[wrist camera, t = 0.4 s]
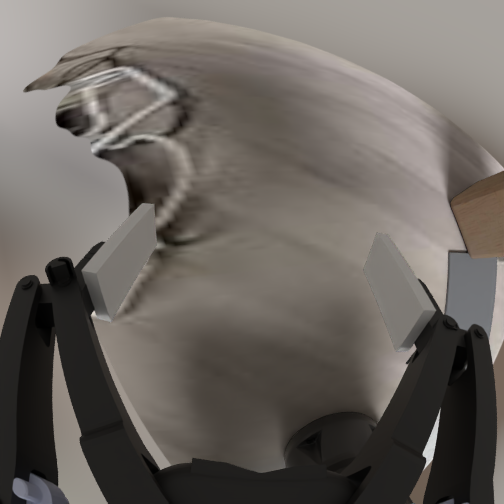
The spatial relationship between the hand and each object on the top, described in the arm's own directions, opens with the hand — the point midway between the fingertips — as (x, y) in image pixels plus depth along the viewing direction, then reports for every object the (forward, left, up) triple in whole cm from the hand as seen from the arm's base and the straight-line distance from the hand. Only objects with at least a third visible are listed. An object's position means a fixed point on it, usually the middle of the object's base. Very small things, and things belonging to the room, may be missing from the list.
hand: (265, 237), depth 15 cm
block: (+6, -34, -17) cm, 39 cm away
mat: (-10, -34, -17) cm, 40 cm away
